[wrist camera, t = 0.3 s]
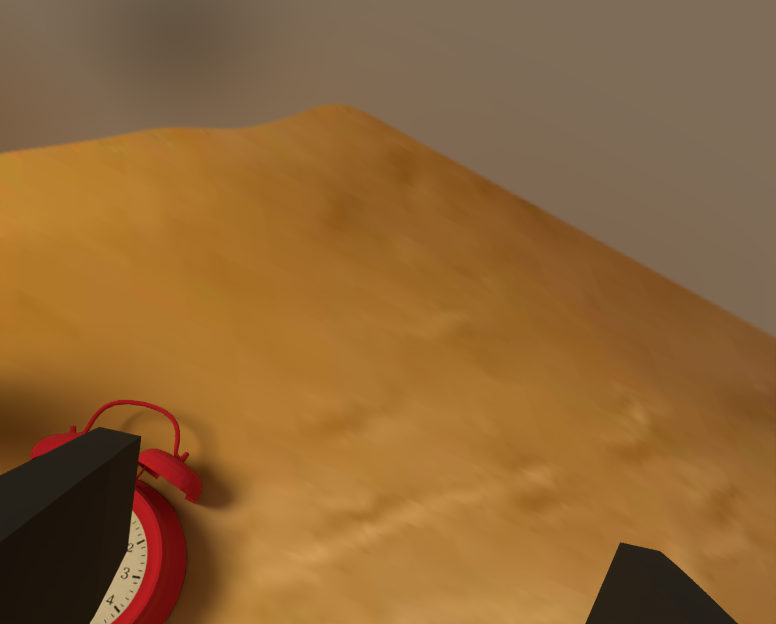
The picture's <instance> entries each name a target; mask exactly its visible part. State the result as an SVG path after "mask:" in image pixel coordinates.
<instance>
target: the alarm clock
mask: <svg viewBox="0 0 776 624" xmlns="http://www.w3.org/2000/svg"><path fill="white" fill-rule="evenodd" d="M122 404H132V405H139V406H145V407H148V408H151V409H154V410H156V411H159V412H161V413H163V414H164V415H166V416H167V417H168V418H169V419H170V420H171V421H172V423H173V425H174V429H175V445H174V456H173V455H171V454H169V453H167V452H165V451H162V450H159V449H148V450H145V451H143V452H142V453H141V454H140V455H139V459H138V464H139V465H140V466H141V467H142V468H143V470H142V471H141V472H140V473H139V474H138V476H137V477H136V484H135V492H134V501H133V509H132V517H131V526H130V534H129V543H128V550H127V552H126V555H125V557H124V559H123V561H122V563H121V565H120V567H119V569H118V571H117V573H116V575H115V577H114V579H113V581H112V583H111V585H110V587H109V589H108V591H107V593H106V595H105V597H104V599H103V601H102V603H101V605H100V607H99V609H98V611H97V612H96V614H95V616H94V618H93V619H92V621H91V622H90V624H164V623H165V621H166V620H167V618H168V617H169V615H170V613H171V612H172V610H173V608H174V606H175V604H176V602H177V599H178V597H179V594H180V591H181V588H182V585H183V581H184V576H185V570H186V544H185V538H184V534H183V530H182V527H181V525H180V522H179V520H178V518H177V516H176V514H175V512H174V511H173V509H172V508H171V506H170V505H169V504H168V502H167V501H166V500H165V499H164V498H163V497H162V496H161V495H160V494H159V493H158V492H156V491H155V490H154V489H153V488H151V487H150V486H148V485H147V484H145V483H143V482H142V481H140V480H137V479H138V477H139V476H140V475H141V474H142V473H143V472H144V470H145V471H147V472H148V473H149V474H151V475H152V476H153V477H155V478H156V479H158V477H159V475H161V476H162V477H164V478H165V479H166V480H168V481H169V482H171V483H172V484H173V485H175V486H176V487H177V488H179V489H180V490H181V491H183V492H184V493H185V494H186V497H185V499H187V500H189V501H190V502H192V503H196V502H197V500H198V499H199V497H200V495H201V493H202V483H201V480H200V479H199V477H198V476H197V475H196V473H195V472H194V471H193V470H192V469H191V468H190V467H188V466H187V465H186V464H185V463H184V461H185V460H186V458H187V457H188V456H189V453H187V452H185V453H184V454H183V455H182V456H181V458H180V456H179V455H178V448H179V443H180V430H179V426H178V423H177V421H176V420H175V418H174V416H173V415H171V414H170V413H169V412H168V411H166V410H165V409H162V408H160V407H158V406H156V405H152V404H149V403H146V402H141V401H133V400H118V401H113V402H110V403H108V404H106V405H104V406H103V407H101V408H100V409H99V410H98V411H97V412H96V413H95V414H94V415H93V417H92V418H91V420H90V422H89V423H88V425H87V426H86V428H85V430H84V431H83V432H82V433H76V426H71V428H70V433H64V434H57V435H53V436H50V437H47V438H44V439H42V440H41V441H39V442H38V443H37V444H36V445H35V446H34V448H33V449H32V452H31V457H30V461H31V460H33V459H35V458H37V457H39V456H41V455H43V454H45V453H47V452H49V451H51V450H53V449H55V448H57V447H59V446H61V445H63V444H65V443H67V442H69V441H71V440H73V439H75V438H77V437H79V436H81V435H83V434H85V433H87V432H88V431H89V430H90V428H91V426H92V425H93V423H94V422H95V420H96V419H97V418H98V416H99V415H100V414H101V413H102V412H103V411H104V410H106V409H107V408H110V407H112V406H114V405H122Z"/></svg>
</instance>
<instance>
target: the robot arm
mask: <svg viewBox="0 0 776 624" xmlns="http://www.w3.org/2000/svg"><path fill="white" fill-rule="evenodd" d="M140 442H141V436H137V435H133V434H128V433H124V432H119V431H115V430H110V429H106V428H101V427H99V428H96V429H94V430H92V431H90V432H87V433H85V434H83V435H81V436H79V437H77V438H75V439H73V440H71V441H69V442H67V443H65V444H63V445H61V446H59V447H57V448H55V449H53V450H51V451H49V452H47V453H45V454H43V455H41V456H39V457H37V458H35V459H33V460H31V461H29V462H27V463H25V464H23V465H21V466H19V467H17V468H14V469H12V470H10V471H8V472H6V473H4V474H2V475H0V624H90V622H91V621H92V619H93V618H94V616H95V614H96V612H97V611H98V609H99V607H100V605H101V603H102V601H103V599H104V597H105V595H106V593H107V591H108V589H109V587H110V585H111V583H112V581H113V579H114V577H115V575H116V573H117V571H118V569H119V567H120V565H121V563H122V561H123V559H124V557H125V555H126V552H127V550H128V543H129V534H130V526H131V517H132V509H133V501H134V492H135V484H136V475H137V467H138V459H139V450H140ZM586 624H738V623H736V622H735V621H734V620H733V619H732V618H731V617H730V616H729V615H728V614H727V613H726V612H725V611H724V610H723V609H722V608H721V607H720V606H719V605H718V604H717V603H716V602H715V601H714V600H713V599H712V598H711V597H710V596H709V595H708V594H707V593H706V592H705V591H704V590H702V589H701V588H700V587H699V586H698V585H697V584H696V583H695V582H694V581H693V580H692V579H691V578H690V577H689V576H688V575H687V574H686V573H684V572H683V571H682V570H681V569H680V568H679V567H678V566H677V565H676V564H675V563H673V562H672V561H671V560H670V559H669V558H667V557H666V556H665V555H664V554H663V553H661V552H660V551H657V550H652V549H648V548H643V547H639V546H634V545H630V544H625V543H621V542H620V544H619V547H618V549H617V551H616V554H615V556H614V558H613V561H612V563H611V565H610V568H609V570H608V572H607V575H606V577H605V579H604V582H603V584H602V586H601V589H600V591H599V593H598V596H597V598H596V600H595V603H594V605H593V607H592V610H591V612H590V614H589V617H588V619H587V621H586Z"/></svg>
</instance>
